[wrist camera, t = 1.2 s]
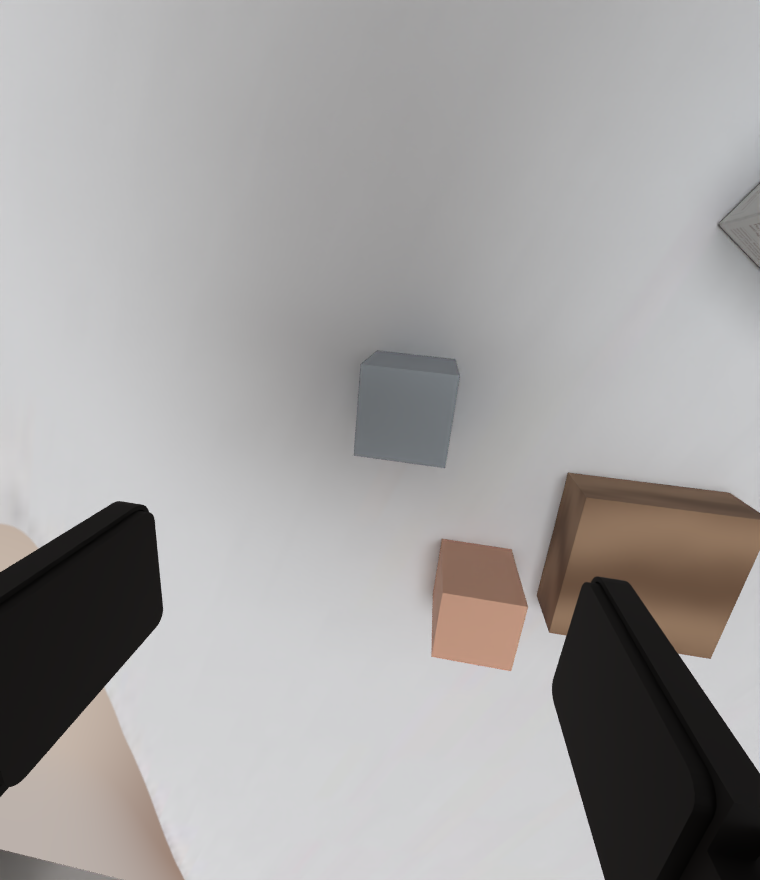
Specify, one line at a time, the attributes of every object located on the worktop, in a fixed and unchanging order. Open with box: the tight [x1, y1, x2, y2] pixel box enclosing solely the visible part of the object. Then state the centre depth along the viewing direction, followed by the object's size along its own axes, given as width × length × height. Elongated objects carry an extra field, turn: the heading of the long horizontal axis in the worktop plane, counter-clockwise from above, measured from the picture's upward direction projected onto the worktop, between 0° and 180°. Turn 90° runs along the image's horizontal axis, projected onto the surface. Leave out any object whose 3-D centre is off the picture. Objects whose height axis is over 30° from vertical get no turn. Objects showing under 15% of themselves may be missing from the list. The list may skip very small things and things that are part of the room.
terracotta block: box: [431, 539, 528, 671], centre depth 28 cm, size 5×5×6 cm
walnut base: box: [537, 473, 760, 659], centre depth 27 cm, size 10×10×4 cm
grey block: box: [354, 351, 460, 468], centre depth 24 cm, size 5×5×6 cm
